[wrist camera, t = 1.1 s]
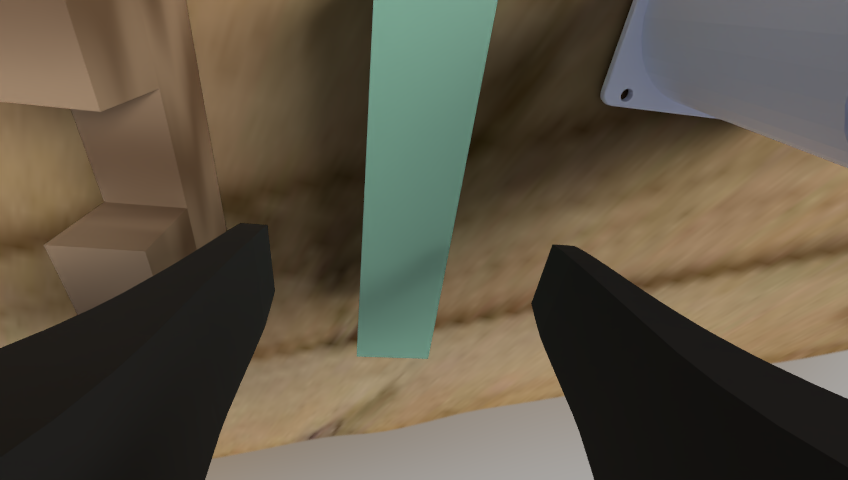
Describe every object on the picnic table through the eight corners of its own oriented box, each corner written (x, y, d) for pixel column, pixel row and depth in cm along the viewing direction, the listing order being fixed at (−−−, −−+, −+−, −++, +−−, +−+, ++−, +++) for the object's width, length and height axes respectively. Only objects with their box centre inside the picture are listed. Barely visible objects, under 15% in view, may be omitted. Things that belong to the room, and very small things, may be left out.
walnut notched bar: (46, -186, 11) (-239, -334, 6) (156, -166, 12) (-28, -289, 7) (179, 287, 21) (109, 381, 16) (237, 290, 21) (187, 383, 16)
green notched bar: (383, -47, 13) (377, -71, 8) (466, -34, 14) (507, -49, 9) (365, 269, 21) (356, 356, 16) (420, 272, 21) (427, 358, 16)
